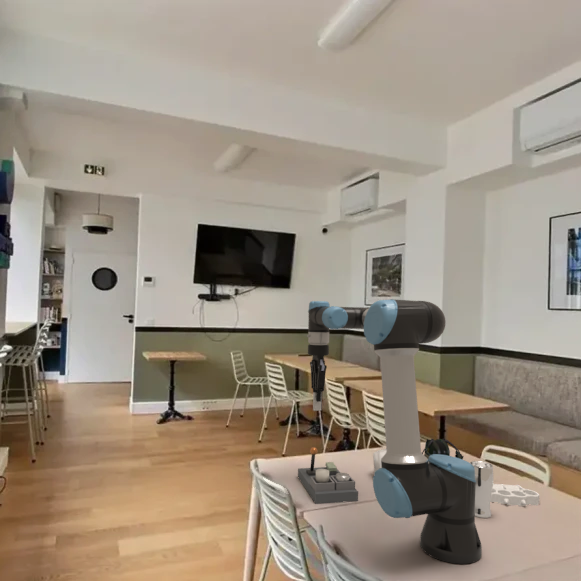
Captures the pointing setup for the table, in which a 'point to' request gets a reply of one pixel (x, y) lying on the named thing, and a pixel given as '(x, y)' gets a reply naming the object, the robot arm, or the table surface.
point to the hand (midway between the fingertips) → (317, 410)
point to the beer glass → (483, 488)
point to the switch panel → (327, 487)
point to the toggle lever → (313, 457)
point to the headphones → (439, 448)
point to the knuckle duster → (513, 495)
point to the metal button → (342, 477)
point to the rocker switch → (331, 466)
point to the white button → (322, 475)
